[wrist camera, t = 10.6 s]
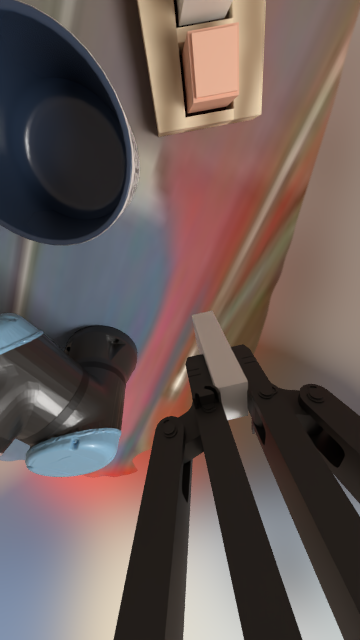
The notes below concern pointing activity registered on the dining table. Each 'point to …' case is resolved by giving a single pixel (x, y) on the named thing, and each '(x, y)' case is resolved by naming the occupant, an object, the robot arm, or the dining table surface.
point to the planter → (59, 134)
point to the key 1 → (211, 67)
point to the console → (166, 73)
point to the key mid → (201, 10)
